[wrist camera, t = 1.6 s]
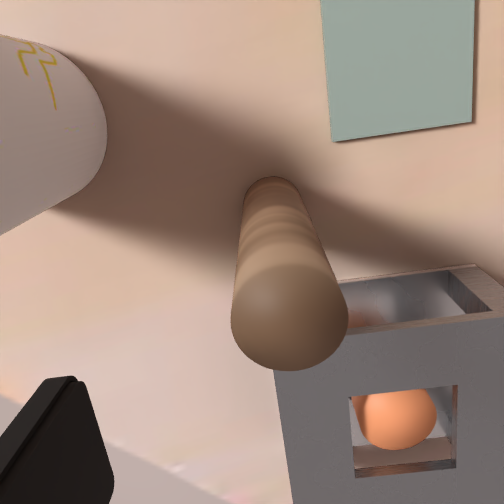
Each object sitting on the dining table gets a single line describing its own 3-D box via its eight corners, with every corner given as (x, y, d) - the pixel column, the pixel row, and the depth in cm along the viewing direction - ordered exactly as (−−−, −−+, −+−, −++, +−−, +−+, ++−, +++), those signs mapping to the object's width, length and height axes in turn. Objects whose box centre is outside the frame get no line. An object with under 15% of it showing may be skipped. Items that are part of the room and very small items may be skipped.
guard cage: (266, 289, 26) (269, 345, 20) (473, 263, 25) (536, 312, 20) (289, 448, 30) (297, 531, 24) (468, 429, 29) (519, 510, 24)
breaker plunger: (348, 368, 24) (357, 392, 22) (422, 359, 24) (436, 383, 22) (353, 425, 26) (361, 453, 24) (422, 418, 25) (436, 445, 23)
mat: (317, -36, 20) (318, -38, 20) (471, -62, 20) (476, -65, 19) (331, 141, 23) (332, 141, 22) (467, 121, 22) (471, 121, 22)
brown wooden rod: (239, 181, 24) (221, 274, 11) (298, 172, 23) (344, 259, 11) (247, 236, 25) (240, 377, 13) (304, 229, 25) (352, 364, 12)
